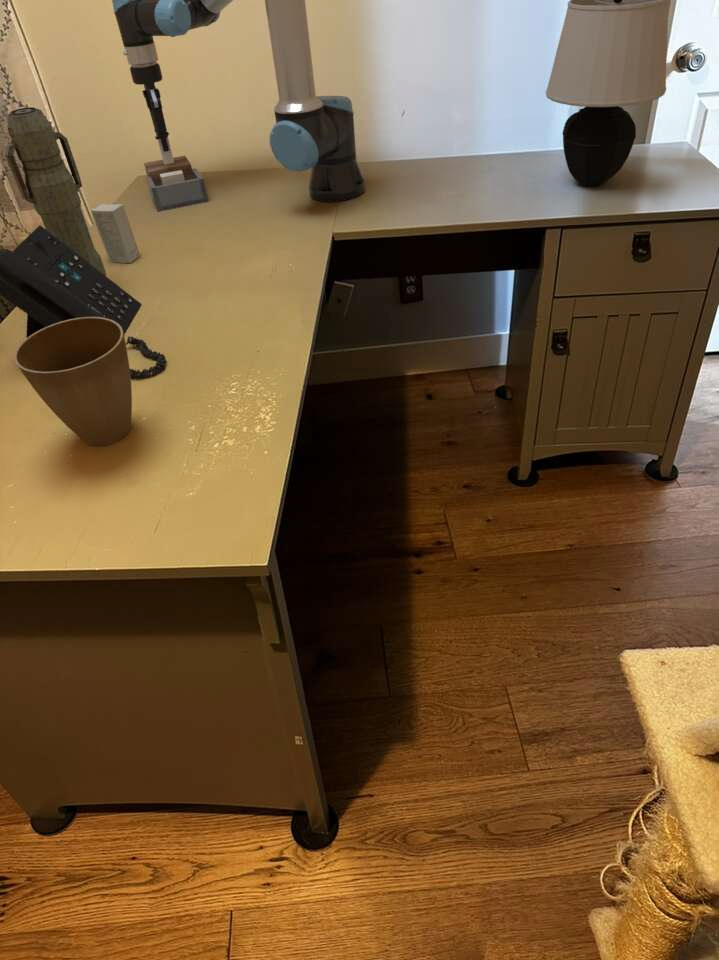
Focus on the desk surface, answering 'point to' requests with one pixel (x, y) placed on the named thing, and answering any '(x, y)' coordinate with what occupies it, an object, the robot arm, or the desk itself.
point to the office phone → (65, 290)
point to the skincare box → (115, 233)
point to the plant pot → (82, 376)
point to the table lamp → (607, 79)
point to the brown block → (168, 169)
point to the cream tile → (172, 177)
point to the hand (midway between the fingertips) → (168, 162)
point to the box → (178, 192)
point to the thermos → (49, 180)
